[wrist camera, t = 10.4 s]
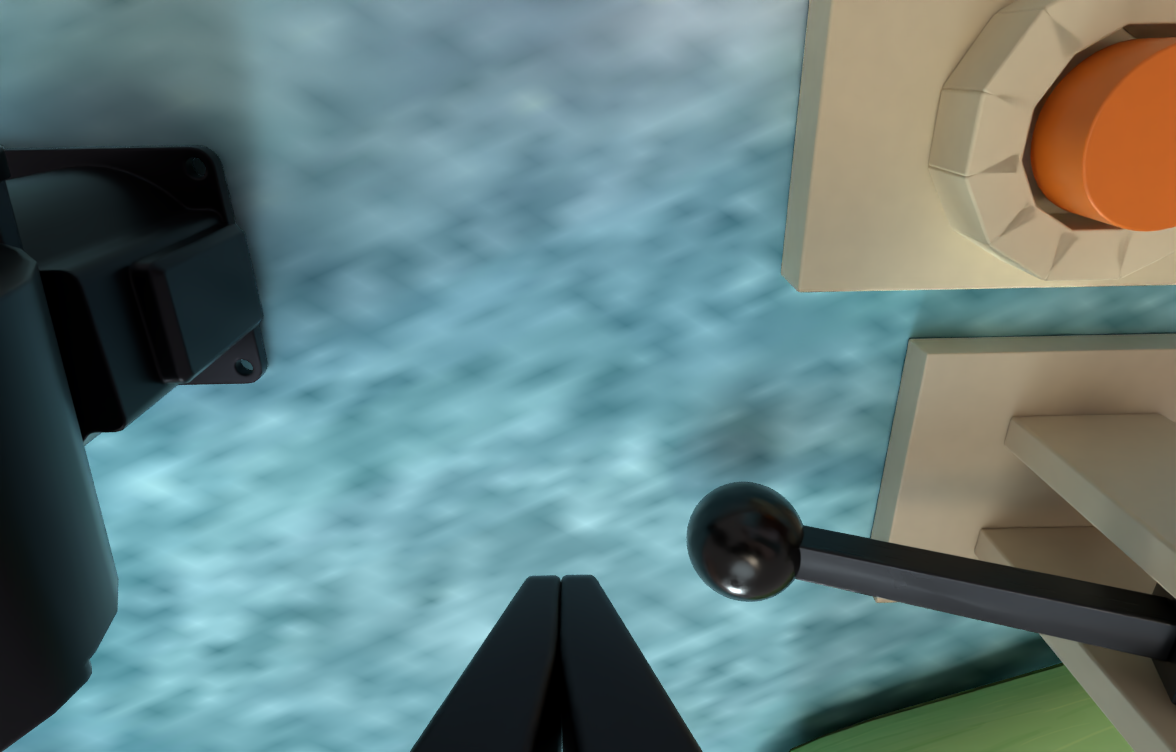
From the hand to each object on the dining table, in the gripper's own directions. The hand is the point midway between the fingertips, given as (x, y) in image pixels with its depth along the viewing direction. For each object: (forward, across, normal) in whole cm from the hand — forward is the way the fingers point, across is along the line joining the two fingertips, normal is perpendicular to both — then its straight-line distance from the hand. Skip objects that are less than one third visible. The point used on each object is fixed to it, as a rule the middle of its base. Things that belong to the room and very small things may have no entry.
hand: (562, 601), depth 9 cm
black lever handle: (+8, -10, +6) cm, 14 cm away
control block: (+12, -12, -5) cm, 18 cm away
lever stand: (+12, -15, +6) cm, 20 cm away
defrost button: (+9, -12, -5) cm, 16 cm away
